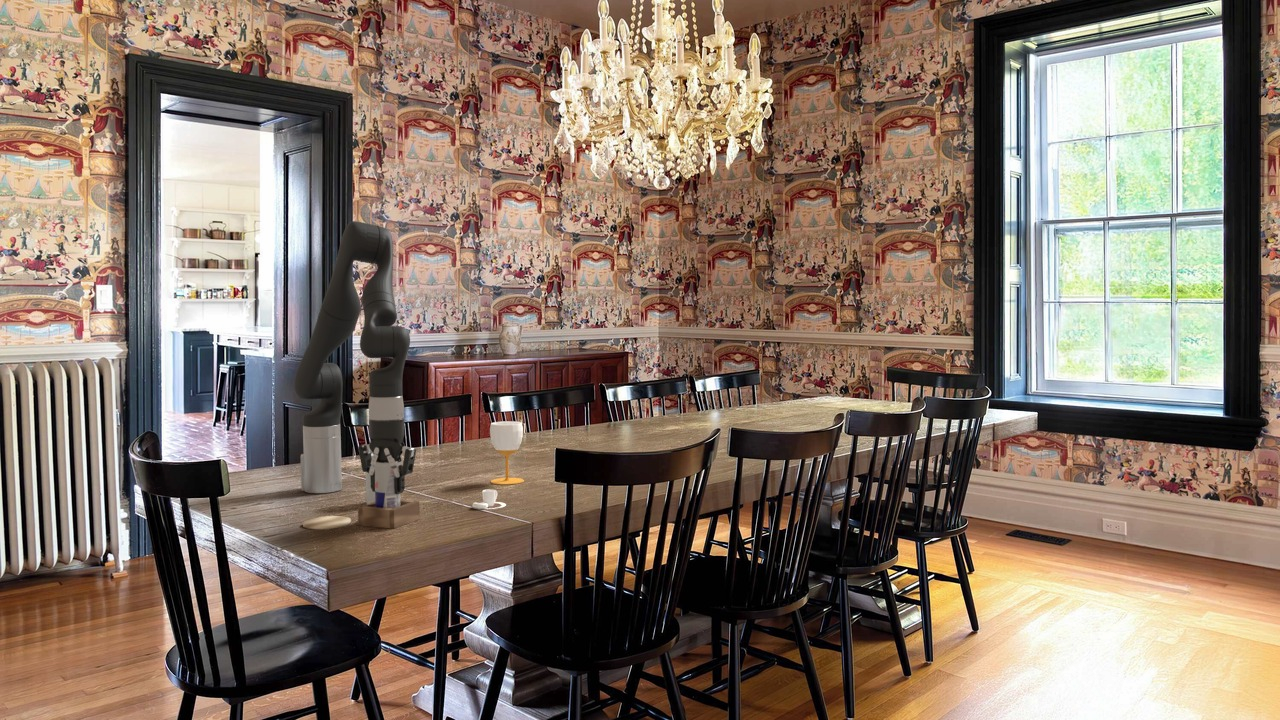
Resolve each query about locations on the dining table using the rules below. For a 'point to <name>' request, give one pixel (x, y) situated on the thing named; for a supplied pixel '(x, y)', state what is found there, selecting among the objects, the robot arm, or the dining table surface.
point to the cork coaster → (326, 522)
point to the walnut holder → (388, 514)
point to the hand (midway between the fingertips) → (387, 492)
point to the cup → (506, 445)
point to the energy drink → (385, 486)
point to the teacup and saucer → (488, 500)
